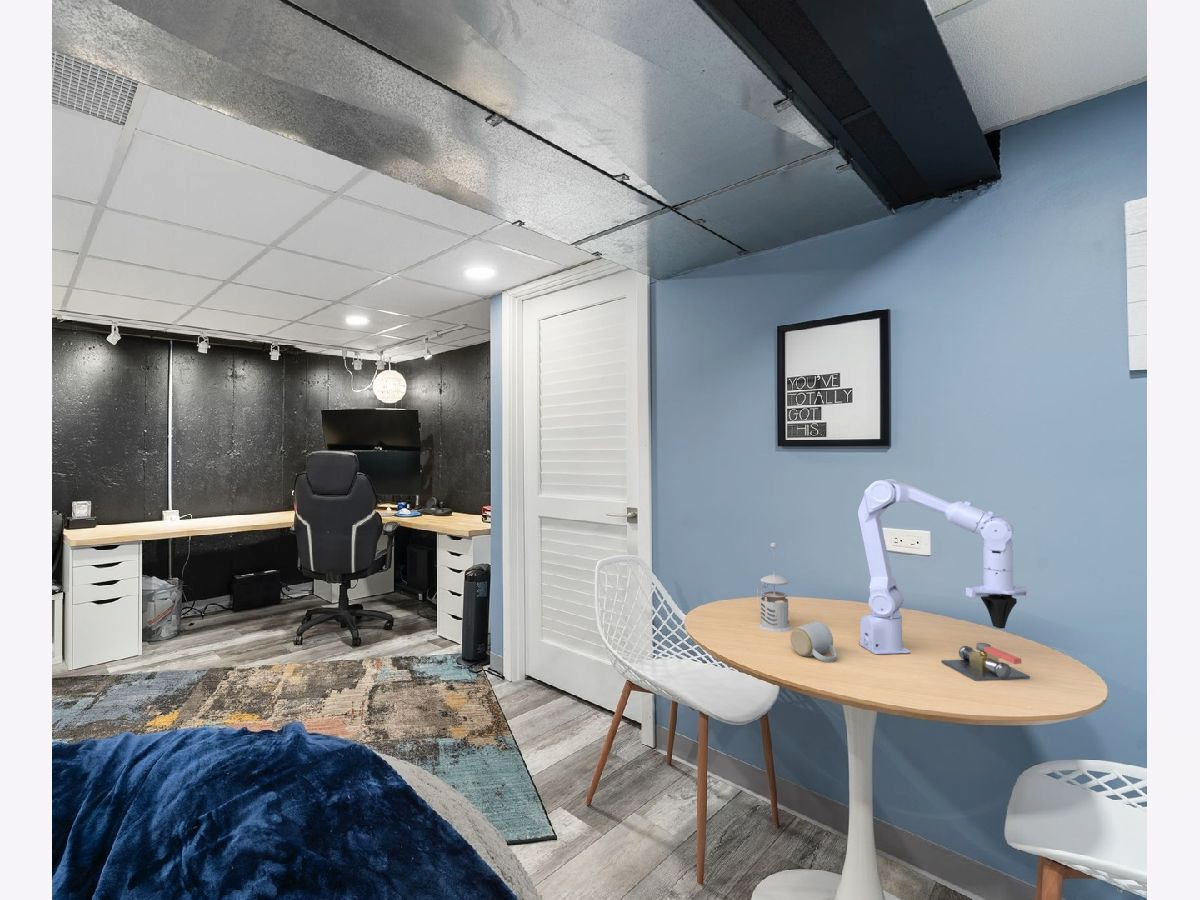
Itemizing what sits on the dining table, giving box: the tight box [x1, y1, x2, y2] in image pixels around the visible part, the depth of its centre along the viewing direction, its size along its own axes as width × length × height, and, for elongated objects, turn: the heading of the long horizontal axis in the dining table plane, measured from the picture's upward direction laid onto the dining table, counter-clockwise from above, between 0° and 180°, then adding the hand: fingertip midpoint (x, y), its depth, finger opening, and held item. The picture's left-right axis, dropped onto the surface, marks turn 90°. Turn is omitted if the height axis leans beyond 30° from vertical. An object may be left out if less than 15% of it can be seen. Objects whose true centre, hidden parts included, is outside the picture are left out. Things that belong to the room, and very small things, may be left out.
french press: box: [756, 542, 793, 633], centre depth 166 cm, size 10×12×25 cm
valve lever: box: [975, 642, 1022, 665], centre depth 127 cm, size 10×3×1 cm, turn 8°
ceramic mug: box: [790, 621, 837, 663], centre depth 141 cm, size 11×8×8 cm
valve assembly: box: [941, 645, 1031, 682], centre depth 131 cm, size 12×13×4 cm
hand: (998, 627), depth 130 cm, fingers closed
